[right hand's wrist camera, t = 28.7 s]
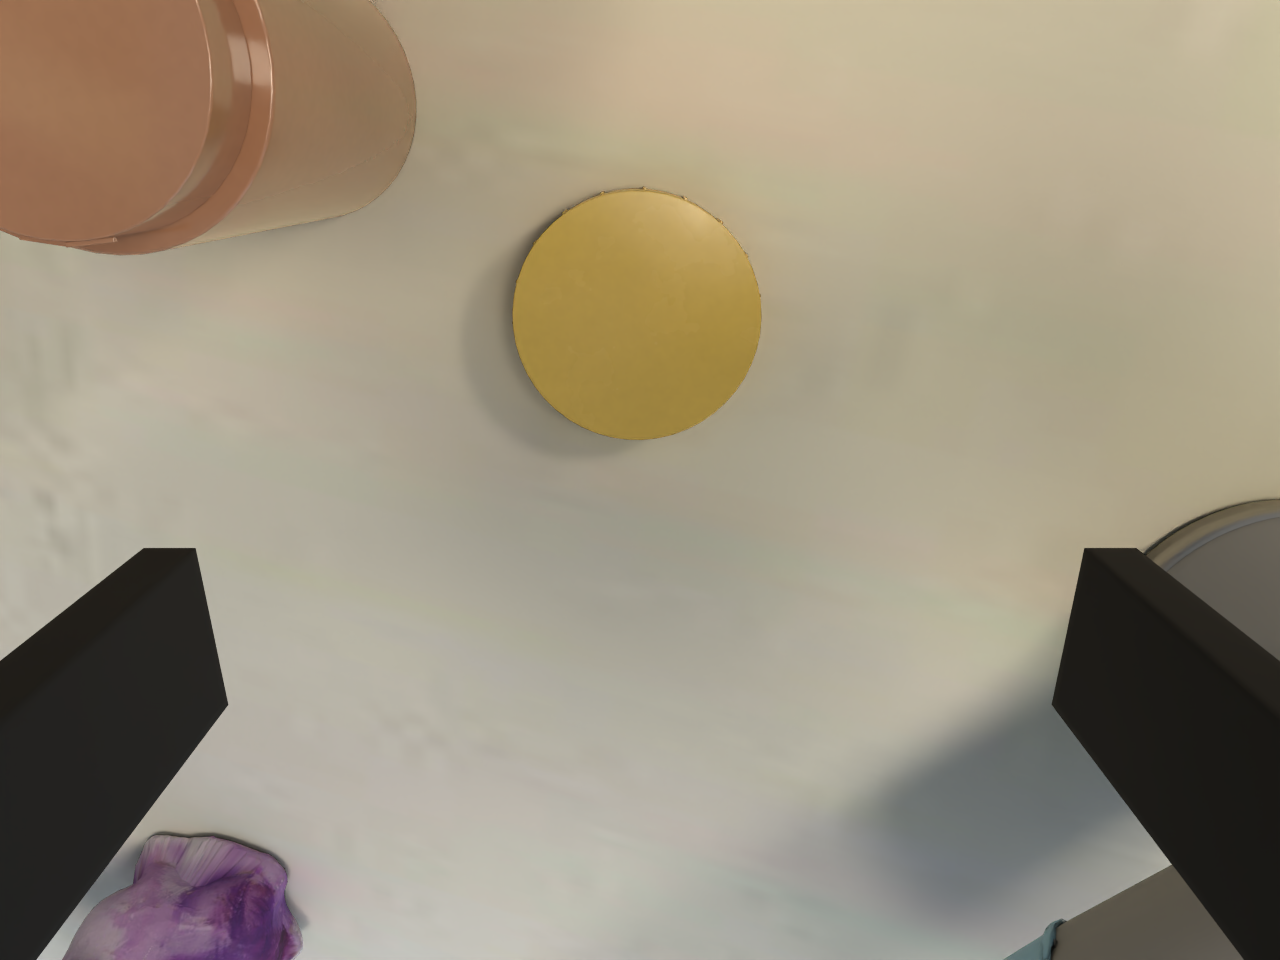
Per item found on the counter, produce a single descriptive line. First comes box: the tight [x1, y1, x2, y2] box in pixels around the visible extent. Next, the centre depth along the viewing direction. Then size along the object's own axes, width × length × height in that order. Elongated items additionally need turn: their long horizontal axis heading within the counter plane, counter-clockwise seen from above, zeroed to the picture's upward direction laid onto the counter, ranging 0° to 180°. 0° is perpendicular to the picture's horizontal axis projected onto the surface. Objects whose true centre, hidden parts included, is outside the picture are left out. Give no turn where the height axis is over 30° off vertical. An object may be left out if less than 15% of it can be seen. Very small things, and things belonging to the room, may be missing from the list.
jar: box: [0, 0, 416, 255], centre depth 27 cm, size 10×10×17 cm
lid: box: [512, 187, 761, 440], centre depth 37 cm, size 11×11×2 cm
